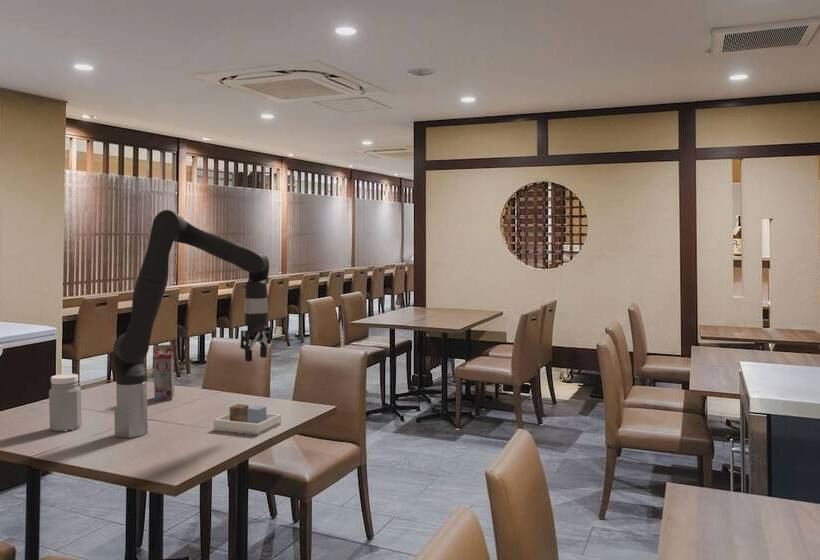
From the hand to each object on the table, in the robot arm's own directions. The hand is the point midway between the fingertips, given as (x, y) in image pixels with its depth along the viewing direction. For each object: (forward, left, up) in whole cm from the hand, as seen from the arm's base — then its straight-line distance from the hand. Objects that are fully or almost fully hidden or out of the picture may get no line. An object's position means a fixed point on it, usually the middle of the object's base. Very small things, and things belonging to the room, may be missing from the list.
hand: (256, 359), depth 215 cm
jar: (-23, +61, -24) cm, 69 cm away
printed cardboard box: (+23, +60, -24) cm, 68 cm away
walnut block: (0, +7, -23) cm, 24 cm away
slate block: (+1, 0, -23) cm, 23 cm away
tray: (0, +4, -24) cm, 24 cm away
